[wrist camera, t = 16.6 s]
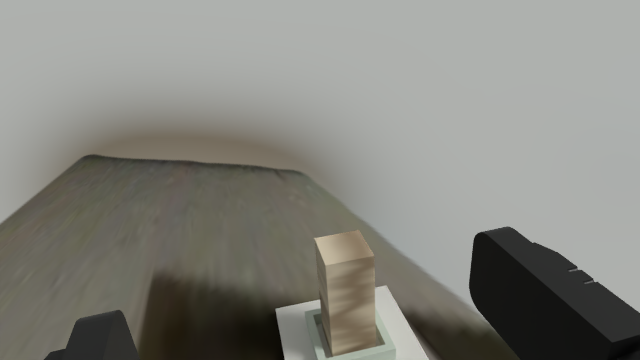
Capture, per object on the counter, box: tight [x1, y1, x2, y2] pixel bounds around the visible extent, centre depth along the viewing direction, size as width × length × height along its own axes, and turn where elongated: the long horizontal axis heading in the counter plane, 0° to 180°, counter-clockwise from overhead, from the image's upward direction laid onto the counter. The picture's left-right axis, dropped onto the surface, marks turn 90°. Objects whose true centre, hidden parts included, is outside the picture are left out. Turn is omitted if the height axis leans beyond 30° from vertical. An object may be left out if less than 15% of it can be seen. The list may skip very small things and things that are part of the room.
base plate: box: [276, 286, 429, 360], centre depth 45 cm, size 14×14×2 cm
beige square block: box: [314, 230, 376, 357], centre depth 43 cm, size 5×5×12 cm
